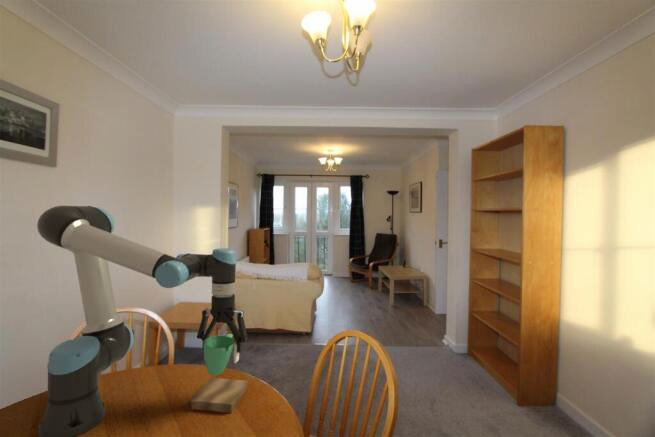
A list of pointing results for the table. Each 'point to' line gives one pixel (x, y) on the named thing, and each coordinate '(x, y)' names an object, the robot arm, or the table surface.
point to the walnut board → (219, 395)
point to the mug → (218, 353)
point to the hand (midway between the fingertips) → (221, 360)
